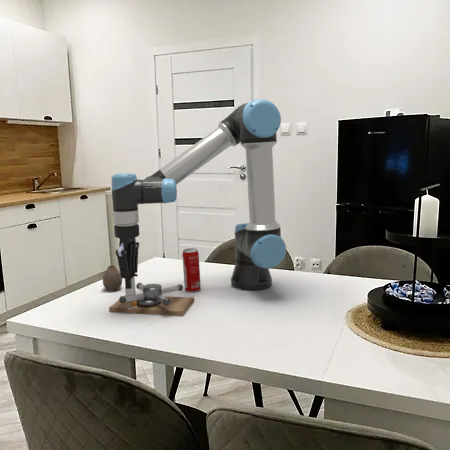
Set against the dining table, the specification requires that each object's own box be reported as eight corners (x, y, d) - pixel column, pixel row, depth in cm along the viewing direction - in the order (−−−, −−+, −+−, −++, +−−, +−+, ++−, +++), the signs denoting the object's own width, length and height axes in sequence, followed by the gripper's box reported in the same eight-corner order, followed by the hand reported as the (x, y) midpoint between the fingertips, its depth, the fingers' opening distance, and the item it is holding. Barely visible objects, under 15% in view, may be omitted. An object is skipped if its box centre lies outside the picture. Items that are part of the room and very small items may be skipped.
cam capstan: (167, 286, 161) (167, 273, 160) (200, 303, 142) (199, 288, 142) (107, 299, 148) (106, 284, 147) (134, 319, 130) (133, 302, 129)
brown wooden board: (194, 301, 150) (194, 296, 149) (181, 317, 136) (181, 311, 136) (126, 298, 154) (125, 293, 154) (107, 313, 141) (107, 307, 140)
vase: (120, 292, 161) (118, 268, 160) (100, 292, 161) (99, 268, 160) (124, 286, 168) (123, 263, 167) (106, 286, 168) (104, 263, 167)
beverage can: (201, 287, 165) (200, 247, 162) (199, 293, 158) (197, 251, 156) (185, 287, 165) (184, 247, 163) (182, 293, 159) (180, 251, 157)
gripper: (123, 220, 146) (128, 290, 150) (105, 227, 134) (110, 303, 138) (145, 220, 145) (149, 291, 149) (129, 228, 132) (133, 305, 136)
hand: (130, 297), depth 143 cm, fingers closed
